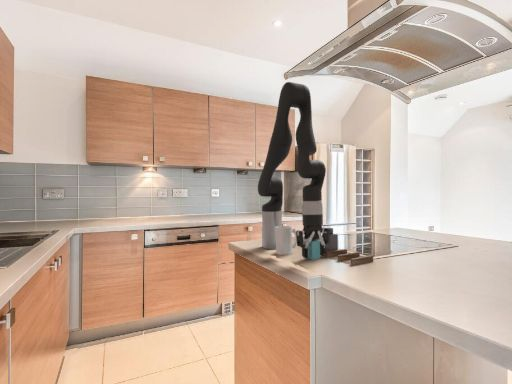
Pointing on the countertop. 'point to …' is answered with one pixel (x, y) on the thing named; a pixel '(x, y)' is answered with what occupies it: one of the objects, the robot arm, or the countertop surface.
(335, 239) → the charcoal plug
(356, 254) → the wooden slotted rack
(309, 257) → the teal plug
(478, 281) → the countertop surface
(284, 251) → the mug
